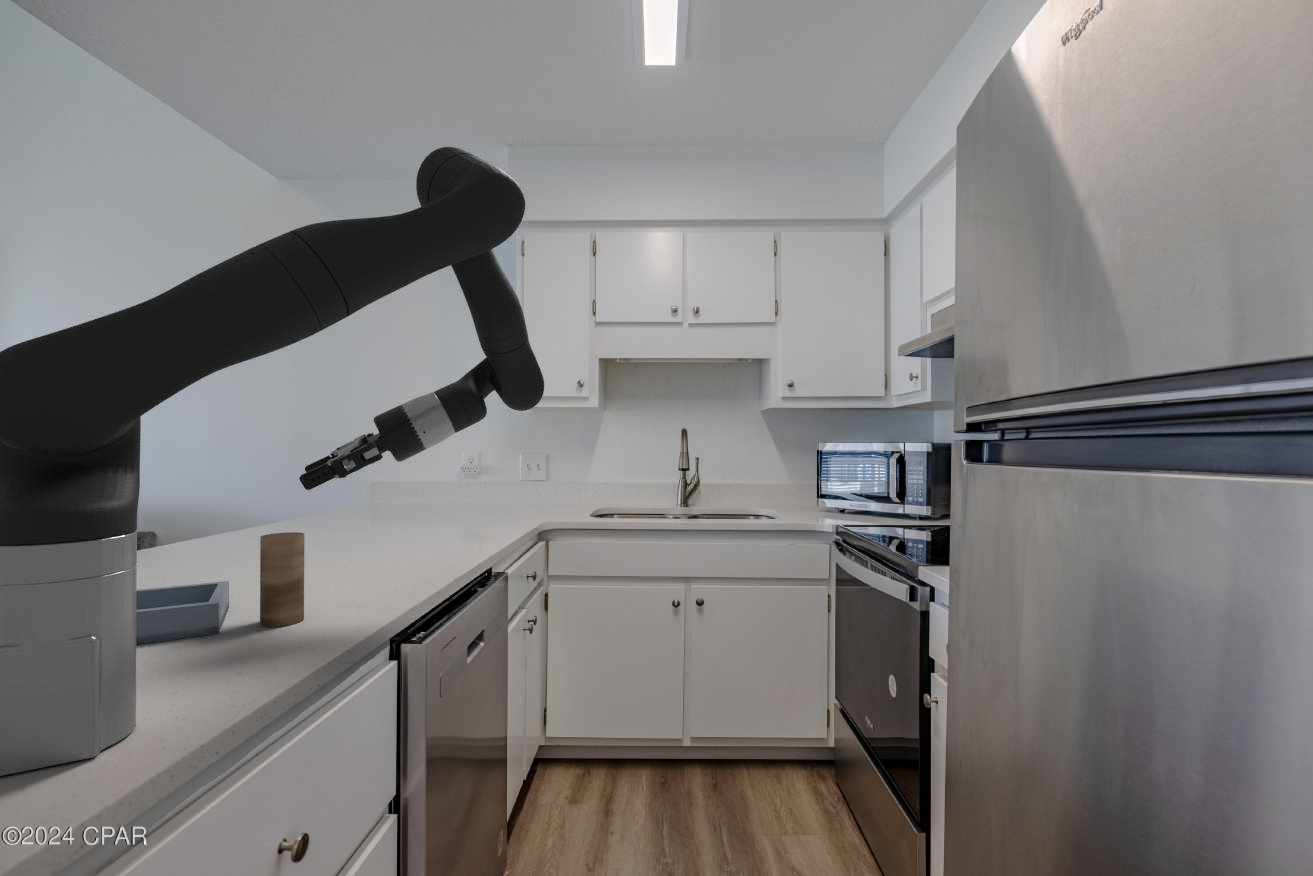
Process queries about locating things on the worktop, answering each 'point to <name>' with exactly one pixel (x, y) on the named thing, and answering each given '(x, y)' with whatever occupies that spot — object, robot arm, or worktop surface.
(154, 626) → the tray
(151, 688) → the worktop surface
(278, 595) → the canister
